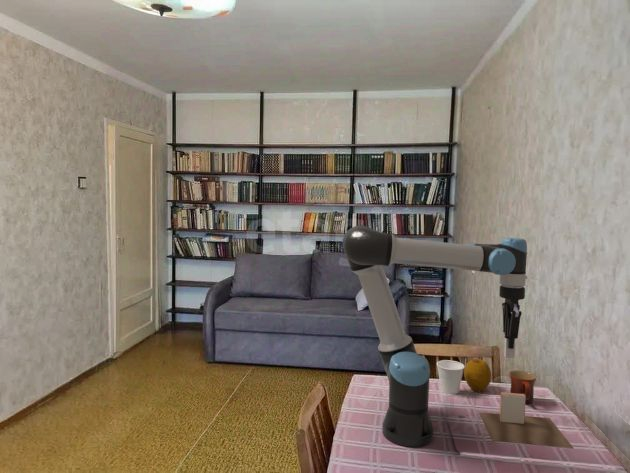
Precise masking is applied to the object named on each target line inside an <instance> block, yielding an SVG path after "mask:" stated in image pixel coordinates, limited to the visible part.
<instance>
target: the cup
mask: <svg viewBox="0 0 630 473" xmlns="http://www.w3.org/2000/svg"><path fill="white" fill-rule="evenodd" d="M436 366H437V371H438V372H437V374H438V380H439V388H440V392H442V393H444V394H446V395H458V394H460V393H459V392H460V387H461V383H462V380H463V379H462V378H463V375H464V370H465V367H466V365H465V364H463V363H461V362H459V361H456V360H448V359H442V360H438V361H437V362H436Z"/></svg>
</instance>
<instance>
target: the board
mask: <svg viewBox="0 0 630 473" xmlns="http://www.w3.org/2000/svg"><path fill="white" fill-rule="evenodd" d="M478 414H479V416H480V419H481V420H482V423H483V425H484V426H485V427H484V428H485V429H486V431H487V433H488V434H489V437H490V439H491V441H492V442H499V443H508V444H509V443H510V444H519V445H520V444H521V445H531V446H543V447H553V448H565V449H574V446H572V444H571V443H570V442H569V441H568V439H567V438H566V436H565V435H564V434H563V433H562V432H561V431H560V429H559V427H558V426H557V425H556V424H555V422H554V421H553V420H552V419H551V418H550V417H541V416H531V415H530V416H529V415H528V416H527V415H525V421H524V424H518V423H506V422H501V421H500V413H493V412H481V411H479V412H478Z"/></svg>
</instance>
